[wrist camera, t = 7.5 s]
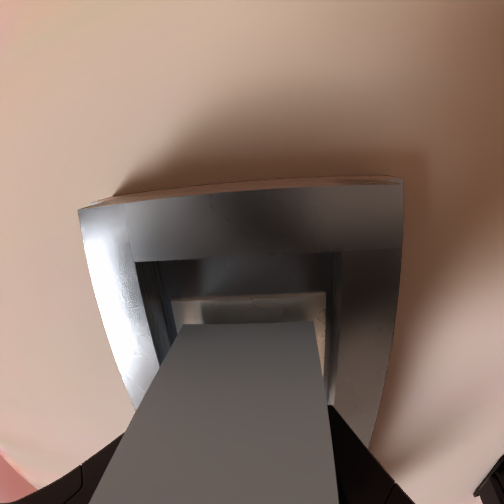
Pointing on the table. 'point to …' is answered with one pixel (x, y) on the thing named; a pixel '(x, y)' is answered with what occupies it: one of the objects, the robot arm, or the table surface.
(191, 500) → the grey block
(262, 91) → the table surface
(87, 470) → the robot arm
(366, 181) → the rail
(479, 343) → the table surface
